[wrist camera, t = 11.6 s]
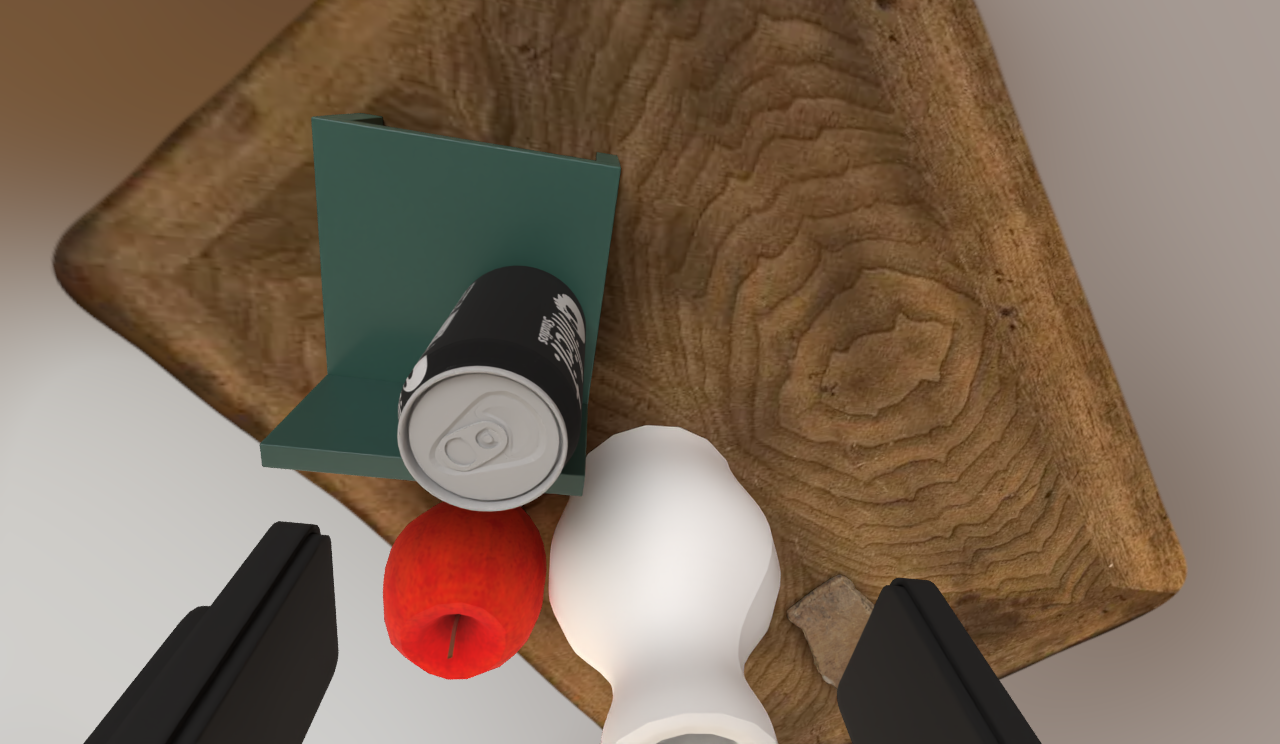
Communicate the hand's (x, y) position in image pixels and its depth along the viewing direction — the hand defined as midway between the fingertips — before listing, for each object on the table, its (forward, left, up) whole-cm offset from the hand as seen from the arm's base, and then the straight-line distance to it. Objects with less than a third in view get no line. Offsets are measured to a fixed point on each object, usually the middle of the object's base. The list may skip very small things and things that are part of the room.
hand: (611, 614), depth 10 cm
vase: (+18, +6, -28) cm, 34 cm away
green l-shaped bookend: (+2, -7, -28) cm, 29 cm away
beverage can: (+3, -4, -22) cm, 23 cm away
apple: (+21, -6, -28) cm, 36 cm away
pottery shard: (+31, +26, -28) cm, 49 cm away
